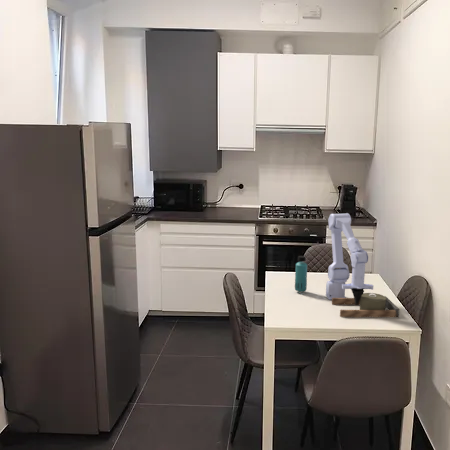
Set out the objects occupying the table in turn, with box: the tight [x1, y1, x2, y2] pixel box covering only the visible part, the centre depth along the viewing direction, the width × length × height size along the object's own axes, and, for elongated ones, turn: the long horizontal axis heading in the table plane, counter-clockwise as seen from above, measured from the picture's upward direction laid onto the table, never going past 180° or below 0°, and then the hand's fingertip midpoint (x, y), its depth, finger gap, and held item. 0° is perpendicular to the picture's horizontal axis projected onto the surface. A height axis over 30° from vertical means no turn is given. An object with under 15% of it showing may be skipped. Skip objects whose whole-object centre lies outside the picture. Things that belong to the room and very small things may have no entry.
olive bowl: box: [359, 292, 387, 310], centre depth 217 cm, size 12×12×7 cm
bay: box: [331, 295, 400, 318], centre depth 218 cm, size 27×18×4 cm
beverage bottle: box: [294, 255, 308, 292], centre depth 242 cm, size 6×7×20 cm
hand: (356, 303), depth 218 cm, fingers closed
